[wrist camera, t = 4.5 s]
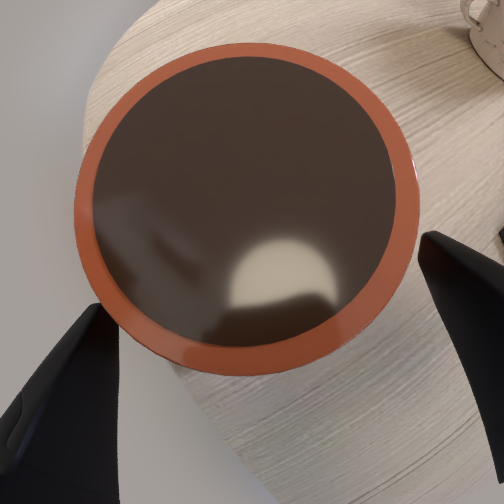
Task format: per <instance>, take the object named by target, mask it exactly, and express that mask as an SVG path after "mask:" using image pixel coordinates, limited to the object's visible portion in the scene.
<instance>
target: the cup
mask: <svg viewBox="0 0 504 504" xmlns="http://www.w3.org/2000/svg"><path fill="white" fill-rule="evenodd" d="M419 217H420V193H419V184H418V178H417V173H416V167H415V164H414V161H413V158H412V155H411V151H410V148H409V146H408V144H407V141H406V139H405V137H404V135H403V133H402V131H401V129H400V127H399V125H398V124H397V122H396V121H395V119H394V118H393V116H392V115H391V113H390V112H389V110H388V109H387V108H386V106H385V105H384V104H383V103H382V102H381V101H380V99H379V98H378V97H377V96H376V95H375V94H374V93H373V92H372V91H371V90H370V89H369V88H368V87H367V86H366V85H364V84H363V83H362V82H361V81H360V80H359V79H357V78H356V77H354V76H353V75H352V74H350V73H349V72H347V71H346V70H344V69H343V68H341V67H339V66H338V65H336V64H334V63H332V62H330V61H328V60H326V59H324V58H322V57H319V56H317V55H314V54H312V53H309V52H306V51H303V50H299V49H296V48H292V47H288V46H282V45H276V44H268V43H236V44H226V45H220V46H215V47H210V48H206V49H202V50H199V51H196V52H193V53H190V54H187V55H185V56H182V57H180V58H178V59H175V60H173V61H171V62H169V63H167V64H165V65H164V66H162V67H160V68H158V69H157V70H155V71H153V72H152V73H150V74H149V75H148V76H146V77H145V78H144V79H142V80H141V81H139V82H138V83H137V84H136V85H135V86H134V87H132V88H131V89H130V90H129V91H128V92H127V93H126V94H125V95H124V96H123V97H122V98H121V99H120V100H119V101H118V102H117V103H116V105H115V106H114V107H113V108H112V109H111V110H110V112H109V113H108V114H107V116H106V117H105V119H104V120H103V122H102V123H101V124H100V126H99V127H98V129H97V131H96V133H95V135H94V137H93V138H92V140H91V142H90V144H89V146H88V149H87V151H86V154H85V157H84V159H83V162H82V165H81V168H80V172H79V176H78V181H77V185H76V193H75V201H74V229H75V236H76V243H77V248H78V252H79V256H80V259H81V263H82V266H83V269H84V271H85V273H86V276H87V278H88V281H89V283H90V285H91V287H92V289H93V291H94V292H95V294H96V296H97V297H98V299H99V301H100V302H101V304H102V306H103V307H104V308H105V309H106V311H107V312H108V313H109V314H110V316H111V317H112V318H113V319H114V320H115V322H116V323H117V324H118V325H119V326H120V327H121V328H122V329H124V330H125V331H126V332H127V333H128V334H129V335H130V336H131V337H132V338H133V339H134V340H136V341H137V342H139V343H140V344H142V345H143V346H145V347H146V348H148V349H149V350H151V351H152V352H154V353H155V354H157V355H159V356H161V357H163V358H165V359H167V360H169V361H171V362H173V363H176V364H178V365H181V366H184V367H187V368H190V369H194V370H197V371H200V372H205V373H211V374H217V375H224V376H260V375H267V374H274V373H280V372H284V371H288V370H291V369H295V368H298V367H301V366H305V365H307V364H309V363H312V362H314V361H316V360H318V359H320V358H323V357H325V356H327V355H329V354H331V353H332V352H334V351H335V350H337V349H339V348H340V347H342V346H343V345H345V344H346V343H348V342H349V341H351V340H352V339H353V338H355V337H356V336H357V335H358V334H359V333H360V332H361V331H363V330H364V329H365V328H366V327H367V326H368V325H369V324H370V323H372V321H373V320H374V319H375V318H376V317H377V316H378V314H379V313H380V312H381V311H382V310H383V308H384V307H385V306H386V305H387V304H388V302H389V301H390V299H391V297H392V296H393V294H394V293H395V291H396V289H397V288H398V286H399V285H400V283H401V281H402V279H403V277H404V274H405V272H406V270H407V267H408V265H409V263H410V260H411V257H412V254H413V250H414V246H415V243H416V239H417V234H418V226H419Z"/></svg>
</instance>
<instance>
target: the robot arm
mask: <svg viewBox="0 0 504 504" xmlns="http://www.w3.org/2000/svg"><path fill="white" fill-rule="evenodd" d="M418 263H419V266H420V268H421V270H422V273H423V275H424V278H425V280H426V283H427V285H428V288H429V290H430V293H431V295H432V298H433V300H434V303H435V305H436V308H437V310H438V312H439V314H440V316H441V318H442V321H443V323H444V325H445V327H446V329H447V331H448V333H449V336H450V338H451V340H452V342H453V344H454V347H455V349H456V351H457V354H458V356H459V358H460V361H461V363H462V366H463V368H464V371H465V373H466V376H467V378H468V381H469V383H470V386H471V389H472V392H473V394H474V397H475V400H476V403H477V406H478V409H479V412H480V415H481V418H482V421H483V424H484V427H485V431H486V435H487V438H488V442H489V445H490V449H491V453H492V457H493V461H494V465H495V469H496V474H497V478H498V481H499V484H501V483H503V482H504V266H503V265H501V264H499V263H497V262H496V261H494V260H492V259H490V258H488V257H486V256H485V255H483V254H481V253H479V252H477V251H475V250H473V249H471V248H470V247H468V246H466V245H464V244H462V243H460V242H458V241H456V240H454V239H452V238H450V237H448V236H446V235H444V234H442V233H440V232H438V231H429V232H425V233H423V234H422V236H421V240H420V246H419V252H418ZM118 393H119V325H118V324H117V323H116V322H115V320H114V319H113V318H112V317H111V316H110V314H109V313H108V312H107V311H106V309H105V308H104V307H103V306H102V304H101V302H100V303H95V304H91V305H90V306H89V307H88V308H87V309H86V310H85V311H84V312H83V314H82V315H81V316H80V317H79V318H78V319H77V320H76V322H75V323H74V324H73V325H72V326H71V327H70V329H69V330H68V331H67V332H66V333H65V335H64V336H63V337H62V338H61V340H60V341H59V342H58V343H57V344H56V346H55V347H54V348H53V349H52V351H51V352H50V353H49V354H48V356H47V357H46V358H45V359H44V361H43V362H42V363H41V364H40V366H39V367H38V368H37V370H36V371H35V372H34V374H33V375H32V376H31V377H30V379H29V380H28V382H27V383H26V384H25V385H24V387H23V388H22V390H21V391H20V392H19V394H18V395H17V396H16V398H15V399H14V401H13V402H12V403H11V405H10V406H9V407H8V409H7V410H6V411H5V413H4V414H3V415H2V417H1V418H0V504H120V500H119V485H118V462H117V461H118V459H117V419H118Z"/></svg>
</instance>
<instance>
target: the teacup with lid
mask: <svg viewBox="0 0 504 504" xmlns="http://www.w3.org/2000/svg"><path fill="white" fill-rule="evenodd" d="M472 1H473V0H461V2H460V8H461V12H462V15H463V17H464V19H465V20H466V21H467V23H468V24H469V25H471V26H472V28H471V29H470V33H469V35H470V40H471V42H472V44H473V46H474V48H475V50H476V51H477V53H478V54H479V56H480V57H481V58H482V59H483V61H484V62H485V63H486V64H487V65H488V66H489V67H490V68H491V69H492V70H493V71H494V72H495V73H496V74H497V75H498V76H499V77H500V78H502V79H503V80H504V0H488V3H487V4H486V6H485V7H484V9H483V11H482V12H481V14H480V15H479V17H478V18H477V20H474V19H473V18H472V17H470V16H469V6H470V4H471V2H472Z"/></svg>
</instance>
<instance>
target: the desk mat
mask: <svg viewBox="0 0 504 504" xmlns="http://www.w3.org/2000/svg"><path fill="white" fill-rule="evenodd" d="M499 234H500V236H501V238H502V240H503V243H504V229H503V230H502V231H501V232H500V233H499Z"/></svg>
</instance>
